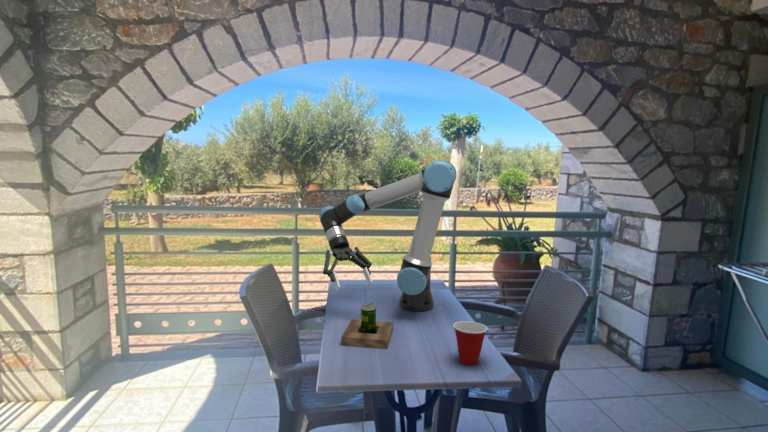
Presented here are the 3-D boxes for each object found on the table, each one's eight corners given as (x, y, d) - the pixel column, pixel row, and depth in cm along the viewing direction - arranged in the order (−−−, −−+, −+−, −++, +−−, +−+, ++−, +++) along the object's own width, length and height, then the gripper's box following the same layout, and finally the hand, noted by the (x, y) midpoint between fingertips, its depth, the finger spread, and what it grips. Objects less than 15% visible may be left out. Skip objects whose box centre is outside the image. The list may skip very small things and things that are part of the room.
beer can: (367, 332, 155) (368, 301, 153) (378, 336, 151) (379, 305, 150) (357, 337, 151) (357, 305, 149) (368, 341, 147) (368, 309, 146)
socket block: (393, 329, 158) (393, 322, 157) (387, 348, 142) (387, 340, 142) (351, 326, 160) (351, 319, 160) (341, 345, 144) (341, 336, 144)
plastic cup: (487, 356, 138) (489, 321, 136) (484, 371, 127) (486, 334, 126) (454, 350, 141) (456, 317, 139) (448, 365, 131) (450, 329, 129)
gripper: (361, 242, 177) (379, 286, 167) (305, 248, 164) (321, 296, 154) (367, 232, 172) (386, 276, 162) (310, 237, 159) (327, 286, 149)
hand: (354, 286), depth 158 cm, fingers open, 13 cm apart
